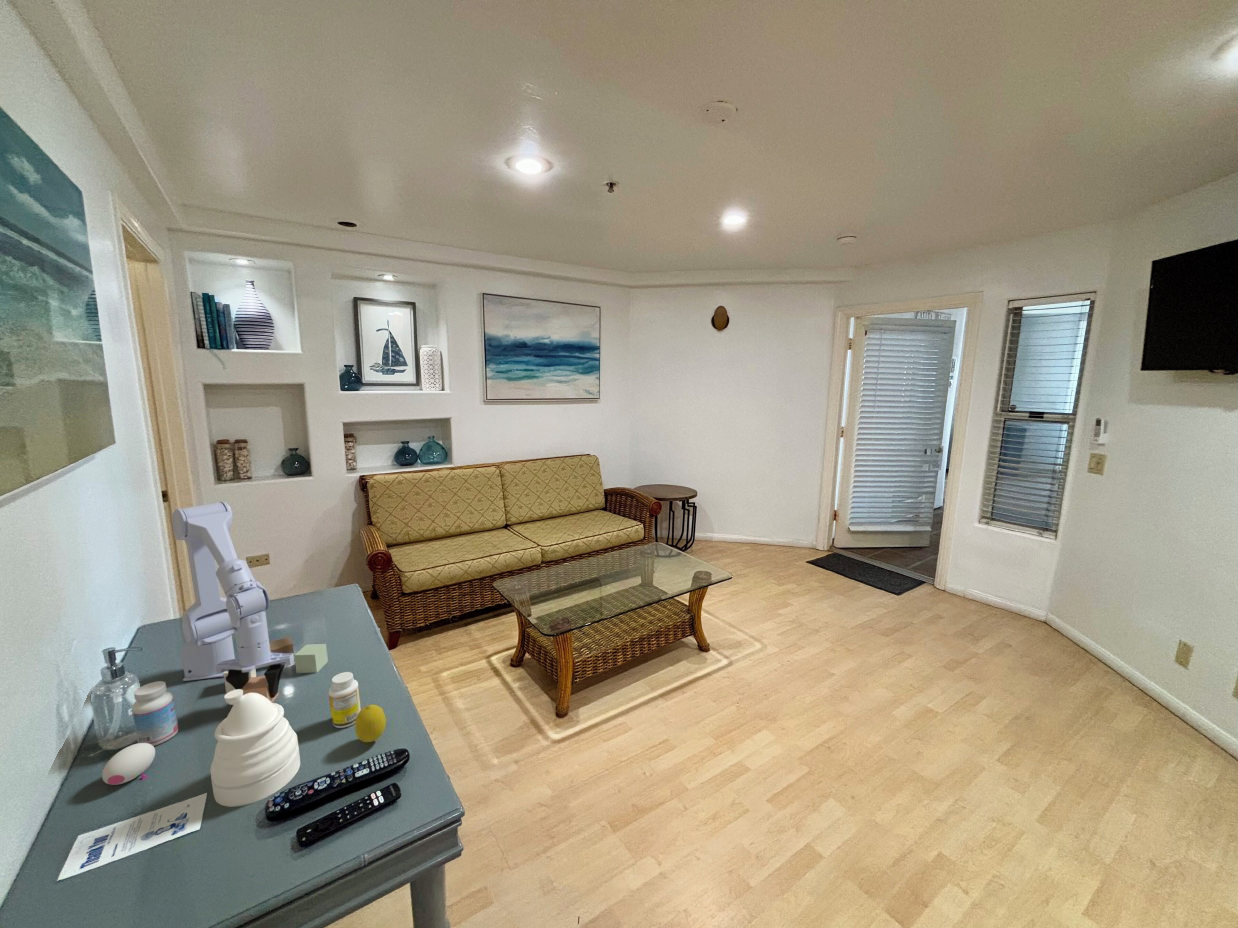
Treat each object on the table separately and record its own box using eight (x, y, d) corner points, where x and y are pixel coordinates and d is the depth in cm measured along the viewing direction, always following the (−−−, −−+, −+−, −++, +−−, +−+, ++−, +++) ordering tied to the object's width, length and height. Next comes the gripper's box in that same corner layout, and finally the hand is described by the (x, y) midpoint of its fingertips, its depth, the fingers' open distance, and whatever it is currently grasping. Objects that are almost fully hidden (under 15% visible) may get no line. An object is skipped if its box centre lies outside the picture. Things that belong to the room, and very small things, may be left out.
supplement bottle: (340, 712, 107) (336, 669, 105) (366, 711, 107) (362, 668, 105) (326, 729, 101) (321, 685, 100) (353, 729, 102) (349, 684, 100)
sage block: (296, 673, 121) (294, 655, 121) (308, 662, 126) (306, 644, 126) (317, 672, 122) (314, 654, 121) (328, 661, 127) (325, 643, 126)
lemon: (356, 755, 94) (353, 718, 93) (356, 737, 99) (353, 701, 98) (387, 745, 97) (384, 709, 96) (386, 728, 102) (383, 693, 100)
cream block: (226, 692, 114) (223, 673, 113) (231, 681, 118) (228, 662, 117) (252, 686, 116) (249, 667, 115) (256, 675, 120) (254, 657, 120)
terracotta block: (242, 711, 107) (239, 690, 106) (254, 697, 112) (251, 677, 111) (268, 707, 108) (265, 687, 108) (278, 694, 113) (276, 674, 112)
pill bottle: (184, 732, 101) (176, 683, 99) (147, 752, 95) (137, 700, 93) (169, 723, 103) (161, 675, 101) (131, 742, 98) (122, 692, 96)
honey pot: (232, 819, 81) (217, 721, 78) (201, 785, 87) (187, 695, 84) (313, 767, 91) (303, 680, 88) (281, 741, 98) (270, 659, 95)
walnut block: (271, 668, 123) (269, 650, 123) (268, 660, 127) (266, 643, 126) (294, 661, 127) (292, 643, 126) (291, 653, 130) (289, 636, 130)
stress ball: (145, 776, 93) (123, 749, 93) (174, 756, 93) (152, 729, 92) (101, 809, 86) (77, 779, 86) (132, 787, 85) (108, 757, 85)
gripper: (204, 654, 102) (213, 712, 105) (281, 646, 105) (288, 703, 108) (223, 638, 109) (231, 692, 111) (295, 630, 112) (301, 684, 114)
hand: (260, 696), depth 110 cm, fingers closed on terracotta block, 5 cm apart
